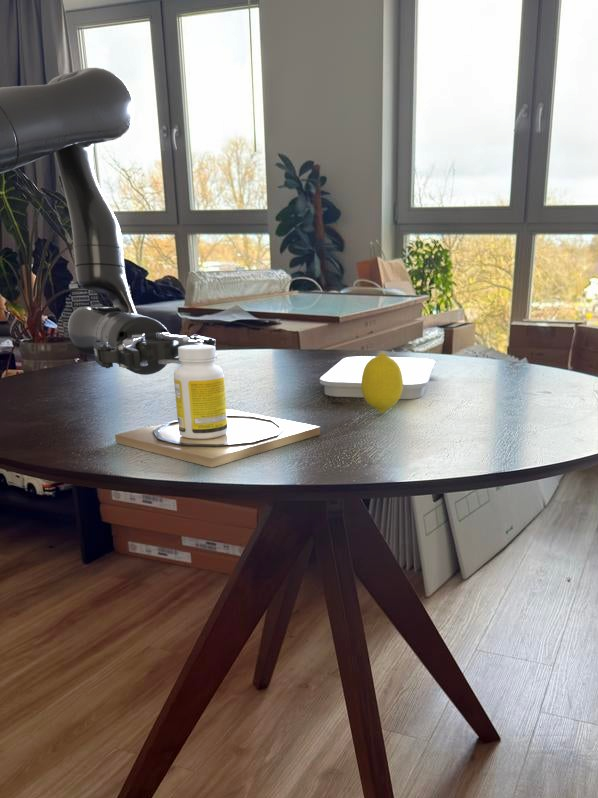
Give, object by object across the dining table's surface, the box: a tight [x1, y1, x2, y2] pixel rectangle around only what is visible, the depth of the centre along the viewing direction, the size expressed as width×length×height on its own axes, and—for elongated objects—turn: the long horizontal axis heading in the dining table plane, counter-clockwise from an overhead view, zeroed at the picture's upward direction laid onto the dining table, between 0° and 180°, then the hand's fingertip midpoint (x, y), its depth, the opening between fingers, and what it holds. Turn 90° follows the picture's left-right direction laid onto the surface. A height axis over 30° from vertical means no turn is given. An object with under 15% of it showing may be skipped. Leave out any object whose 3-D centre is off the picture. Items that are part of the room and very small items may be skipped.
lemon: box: [361, 352, 403, 414], centre depth 96 cm, size 6×6×8 cm
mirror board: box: [114, 408, 321, 468], centre depth 84 cm, size 17×16×1 cm
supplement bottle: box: [173, 345, 228, 439], centre depth 80 cm, size 5×5×10 cm
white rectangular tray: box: [319, 355, 436, 400], centre depth 118 cm, size 16×26×2 cm, turn 173°
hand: (173, 358), depth 86 cm, fingers open, 8 cm apart
